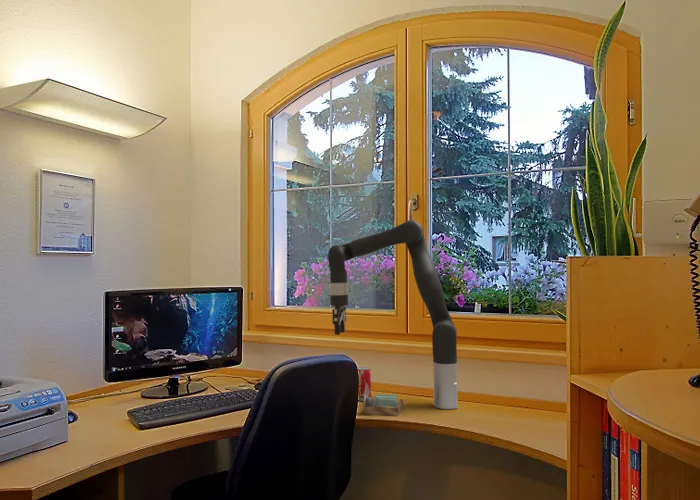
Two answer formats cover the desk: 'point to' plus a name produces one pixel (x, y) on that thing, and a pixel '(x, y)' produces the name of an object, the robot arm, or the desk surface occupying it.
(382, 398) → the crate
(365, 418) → the desk surface
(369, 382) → the soda can
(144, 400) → the desk surface
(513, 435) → the desk surface
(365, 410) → the bay
